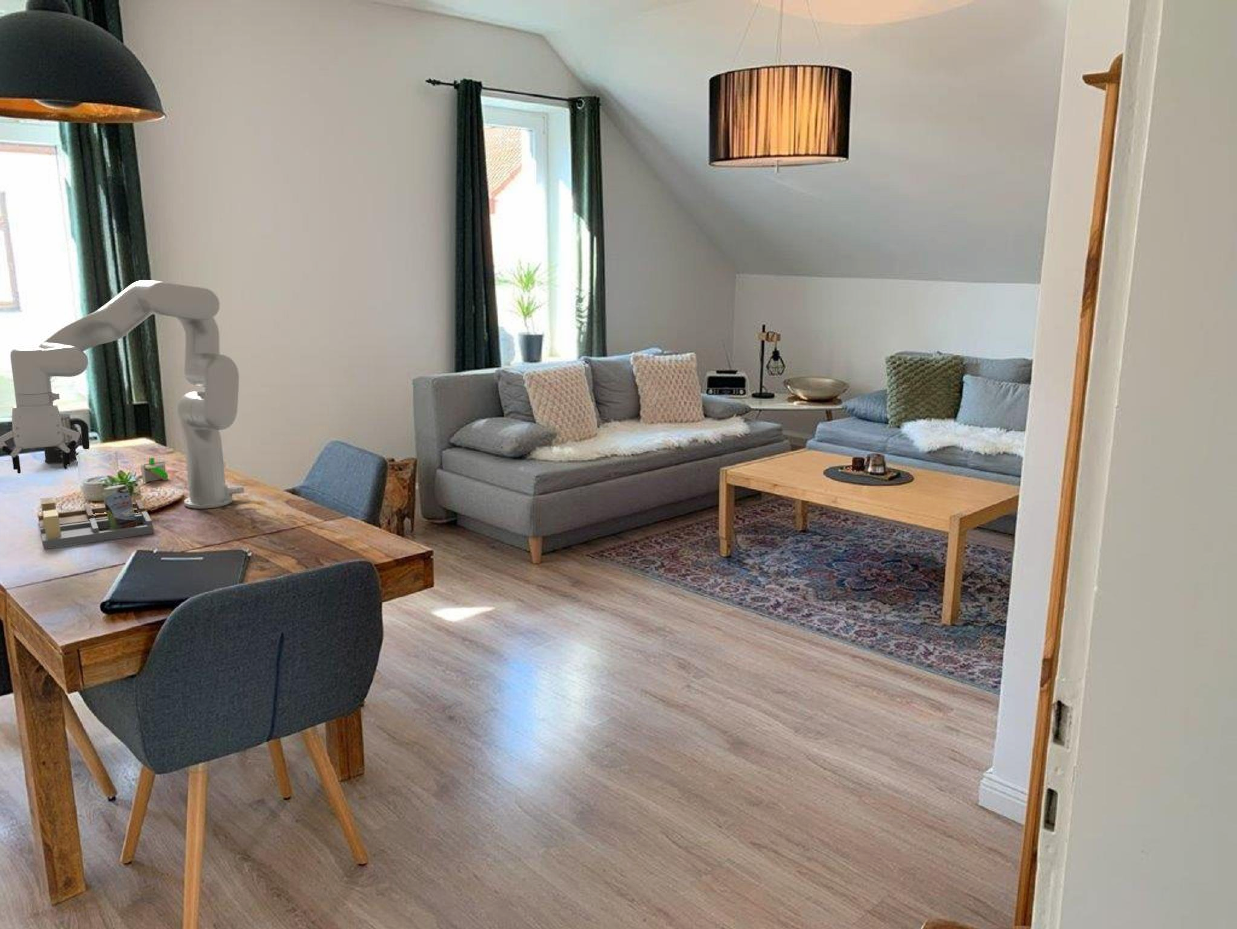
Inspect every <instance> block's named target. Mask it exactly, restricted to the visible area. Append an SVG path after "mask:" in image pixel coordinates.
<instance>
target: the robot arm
mask: <svg viewBox="0 0 1237 929" xmlns="http://www.w3.org/2000/svg"><path fill="white" fill-rule="evenodd" d="M220 304H221V303H220V301H219V298H218V296H217V294H215V292H213V291H212V290H210V289H209V288H206V287H198V286H191V285H184V284H179V283H178V284H177V283H172V282H166V281H159V280H147V279H145V280H144V279H143V280H138V281H135V282H133V283H131V284H130V285H128V286H127V287H125V289H124V290H122V291H121V292H119V293H118V294H116V296H114V297H113V298H111V299H110V300H109V301H107V303H105V304H104V305H102V306H101V307H99V308H98V309H97V310H95V311H93V312H91V313H89V314H87V315H84V316H83V317H81V318H79V319H77V320H76V321H73V322H71V323H70V324H68V325H65V326H64V327H63V328H60V329H59V330H57V331H56V332H55V333H53V334H52V335H51V336H50V337H48V338H47V339H46V340H44V341H43V342H42V343H41V344H40V345H39V346H38V347H35V346H34V347H33V346H31V347H30V346H27V347H17V348H13V349H12V350H11V351H10V365H11V373H12V380H13V388H14V396H15V397H14V399H15V405H14V406H12V413H11V421H12V422H11V423H12V424H11V425H12V430H10V431H8V432H6V433H5V434H2V435H0V449H1V450H2V451H3V452H4V453H6V454H7V455H8V456H10V457H11V459H12V467H13V468H12V469H13V470H14V471H15V470H16V471H17V474H21V473H22V472H21V471H22V470H21V462H20V455H18V454H19V453H20V452H21V451H22V449H35V448H39V449H40V448H44V447H51V446H59V447H60V448H61V449H62V450H63V452H62V459H63V463H62V467H63V469H64V470H68V465H69V466H70V465H71V461H70V459H69V452H70V450H71V449H72V448H73V447H74V446H75V445H76V443H78V441H79V439H80V437H81V433H80V432H78V431H76V430H74V429H73V430H70V429H67V428H65V427H62V424H61V418H60V414H61V413H60V410H59V408H58V405H57V403H54V402H55V401H57V400H60V393H54V392H53V389H52V381H51V377H60V378H61V377H62V378H63V377H65V378H70V377H73V378H74V377H77V376H80V375H81V374H82V373H84V372H85V371H86V370H87V368H88V365H89V358H88V356H87V354H86V353H85V351H86V350H89V349H90V348H94V347H96V346H99V345H103V344H108V343H112V342H114V341H115V342H116V341H117V340H119V339H123V338H124V337H126V335H128V334H129V333H130V332H131V331H132V330H134V329H135V328H136V327H138V326H139V325H140V324H142V322H144V321H145V320H147V319H148V318H149V317H150V316H152V315H157V316H164V317H172V318H176V319H177V320H178V321H179V322H180V324H181V327H183V331H184V335H185V349H184V350H185V351H184V352H185V353H184V369H183V370H184V377H185V379H186V381H187V382H188V383H189V384H192V385H193V386H196V387H201V388H204V391H200V390H199V391H198V390H194V391H190V392H187V393H185V394H183V396H181V398H180V399H179V401H178V403H177V409H176V411H177V416H178V419H179V423H180V426H181V427H180V428H181V431H182V436H183V437H182V438H183V444H184V452H185V453H184V454H185V455H184V456H185V464H186V472H187V473H186V474H187V482H188V492H189V496H188V497H187V498H185V499H184V500H183V504H184V506H185V508H186V507H187V508H190V509H202V510H203V509H205V510H206V509H213V508H220V507H224V506H226V505H229V504H231V503H233V500H234V499H233V498H234V497H233V495H234V494H235V495H238V494H244V493H245V487H244V486H237V485H236V486H234V485H233V486H229V485H227V484H226V475H225V463H224V453H223V444H222V443H223V440H222V436H221V432H220V431H222V430H223V431H224V430H226V429H228V428H230V427H231V426H232V425H233V424H234V422H235V420H236V418H237V413H238V404H239V389H240V388H239V387H240V386H239V385H240V374H239V369H238V366H237V364H236V363H235V361H234V360H233V359H232V358H231V357H229V356H227V355H224V354H221V352H220V331H219V326H218V324H217V321H216V320H215V316H216V315H217V314H218V313H219V311H220V308H221V307H220ZM63 433H65V434H67V435H70V436H72V439H71V441H70V442H69V443H68V444H67V445H66V444H65V443H64V442H63ZM11 438H13V442H14V446H13V448H11V447H9V446H8V445H7V444H6V441H8V440H9V439H11Z"/></svg>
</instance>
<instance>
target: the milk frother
mask: <svg viewBox="0 0 1237 929" xmlns="http://www.w3.org/2000/svg"><path fill="white" fill-rule="evenodd" d="M59 414H60V418H61V424H62V427H65V428H67V429H70V430H73V431H74V429H73V425H74V426H75V425H79V427H80V432H81V433H80V437H81V445H82V446H81V447H82V449H83V450H84V449H88V450H89V449H90V432H89V430H90V429H89V425H88V423H87V422H86V421H85V420H83V419H82V418H80V417H79V418H78V417H73V418H72V417H71V414H68V413H59ZM71 439H72V436H70V435H67V434H65V433H63V442H64V443H65V444H66V445H67V444H68V443H69V442H70V441H71ZM79 446H80V444H79V442H77V443H76V445H75V446H74V447H73V448H72V449H71V450H70V452H69V459H70V462H71V461H74V460H76V459H77V458H76V457H77V455H76V454H77V449H78V448H79ZM43 450H44V463H48V464H49V463H50V464H57V463H58V464H60V463H61V464H63V459H62V452H63V450H62V449H61V448H60V447H59V446H51V447H43Z"/></svg>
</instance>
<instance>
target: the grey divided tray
mask: <svg viewBox="0 0 1237 929" xmlns="http://www.w3.org/2000/svg"><path fill="white" fill-rule="evenodd" d="M43 516H44V523H45V527H44V528H40V527H39V530H41V531H40V535H41V540H42V546H43V550H45V549H53V548H60V547H67V546H75V545H81V544H88V543H94V542H95V543H96V542H101V541H102V542H103V541H107V540H108V541H109V540H116V539H123V538H129V537H136V536H142V535H149V534H155V532H154V525H153V520H152V519H151V517H150V515H149V513H148V512H147V511H146V510H145V511H144V512H142V514H140V515H135V519H136V523H137V526H135V527H130V528H122V529H115V530H111V529H110V525H109V521H108V519H103V520H95V517H94V518H92V519H89V520H90V521H88V522H81V523H74V524H66V525H60V524H59V516H58V509H57V508H56V510H48V511H43ZM138 524H142V525H139V526H138ZM107 528H109V529H110V530H109V529H108V530H102V531H99V530H101V529H107Z"/></svg>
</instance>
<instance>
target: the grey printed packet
mask: <svg viewBox="0 0 1237 929" xmlns="http://www.w3.org/2000/svg"><path fill="white" fill-rule="evenodd" d="M101 496H102V500H103V504H104V506H105V508H106V513H107V515H106V517H108V521H109V525H110V527H109V529H110V530H115V529H122V528H130V527H137V526H138V524H137V523H136V519H135V514H134V513H135V511H134V510H133V506H132V503H133V501H132V498H131V494H130V490H129V488H128V487H127V486H126V484H117V485H112V486H107V487H104V488H103V492H102V494H101Z"/></svg>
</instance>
